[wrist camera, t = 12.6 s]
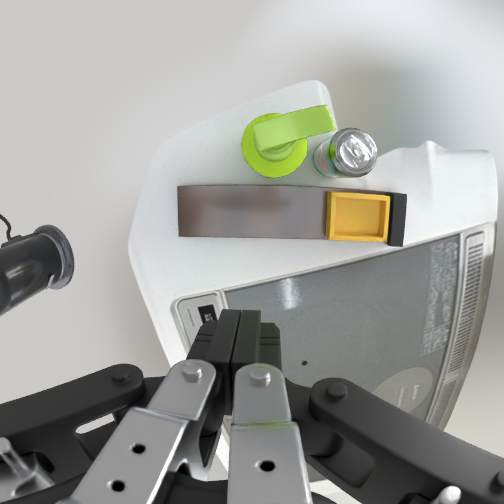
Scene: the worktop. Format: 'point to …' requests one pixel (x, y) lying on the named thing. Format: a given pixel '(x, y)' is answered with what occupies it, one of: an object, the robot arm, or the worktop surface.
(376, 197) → the tray
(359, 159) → the soda can
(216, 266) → the worktop surface
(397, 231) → the end stop
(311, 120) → the soap dispenser
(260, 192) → the board
